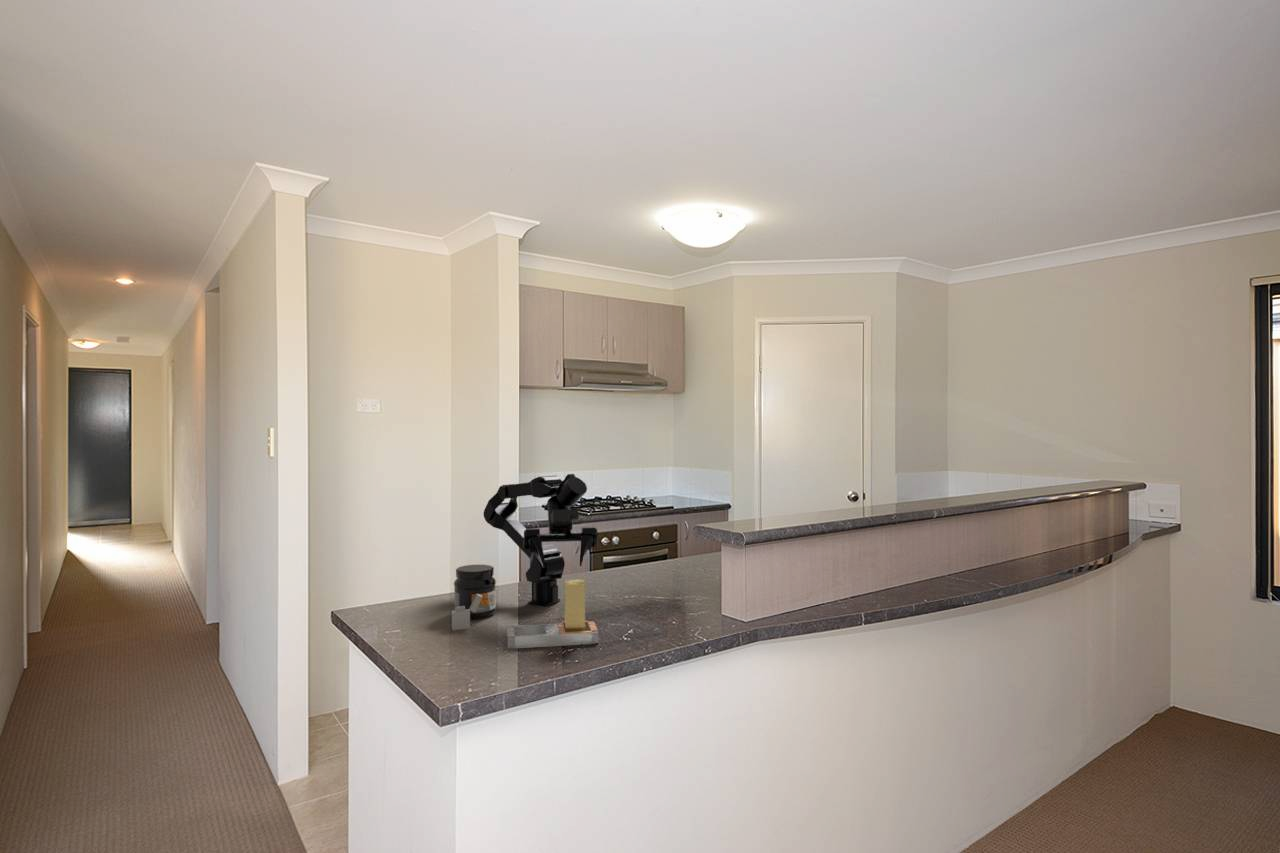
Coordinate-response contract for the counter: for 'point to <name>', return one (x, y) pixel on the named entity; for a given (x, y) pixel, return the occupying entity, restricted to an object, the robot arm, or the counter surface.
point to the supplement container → (475, 589)
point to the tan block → (574, 605)
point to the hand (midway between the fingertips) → (562, 566)
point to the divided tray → (549, 635)
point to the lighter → (464, 614)
